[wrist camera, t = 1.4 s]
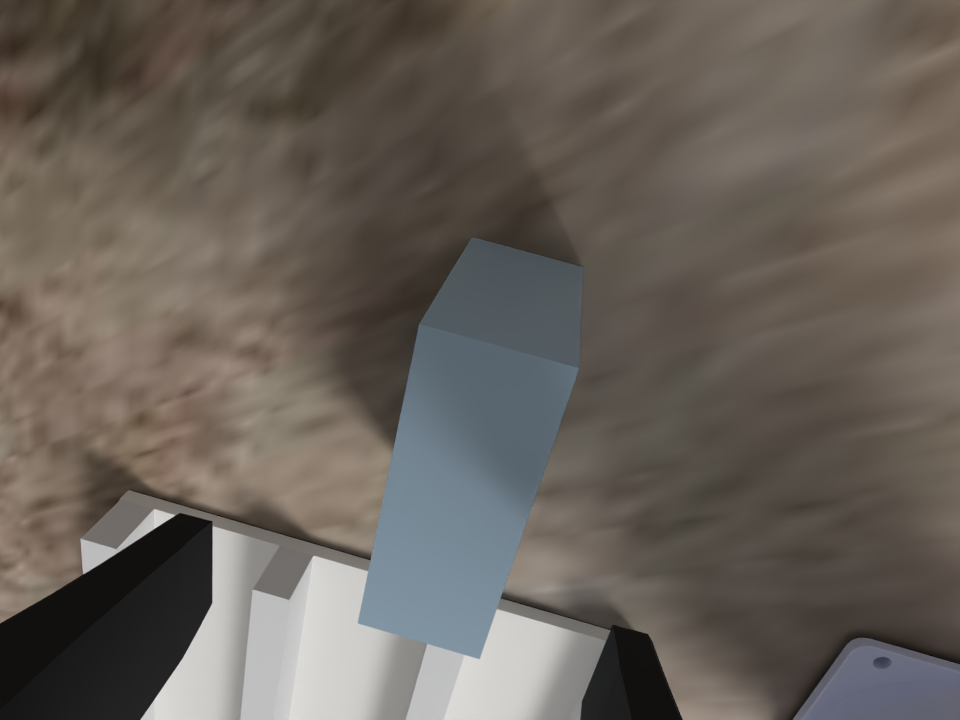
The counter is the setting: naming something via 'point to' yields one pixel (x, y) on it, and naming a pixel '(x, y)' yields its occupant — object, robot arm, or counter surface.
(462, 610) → the blue block
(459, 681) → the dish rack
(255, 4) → the counter surface
